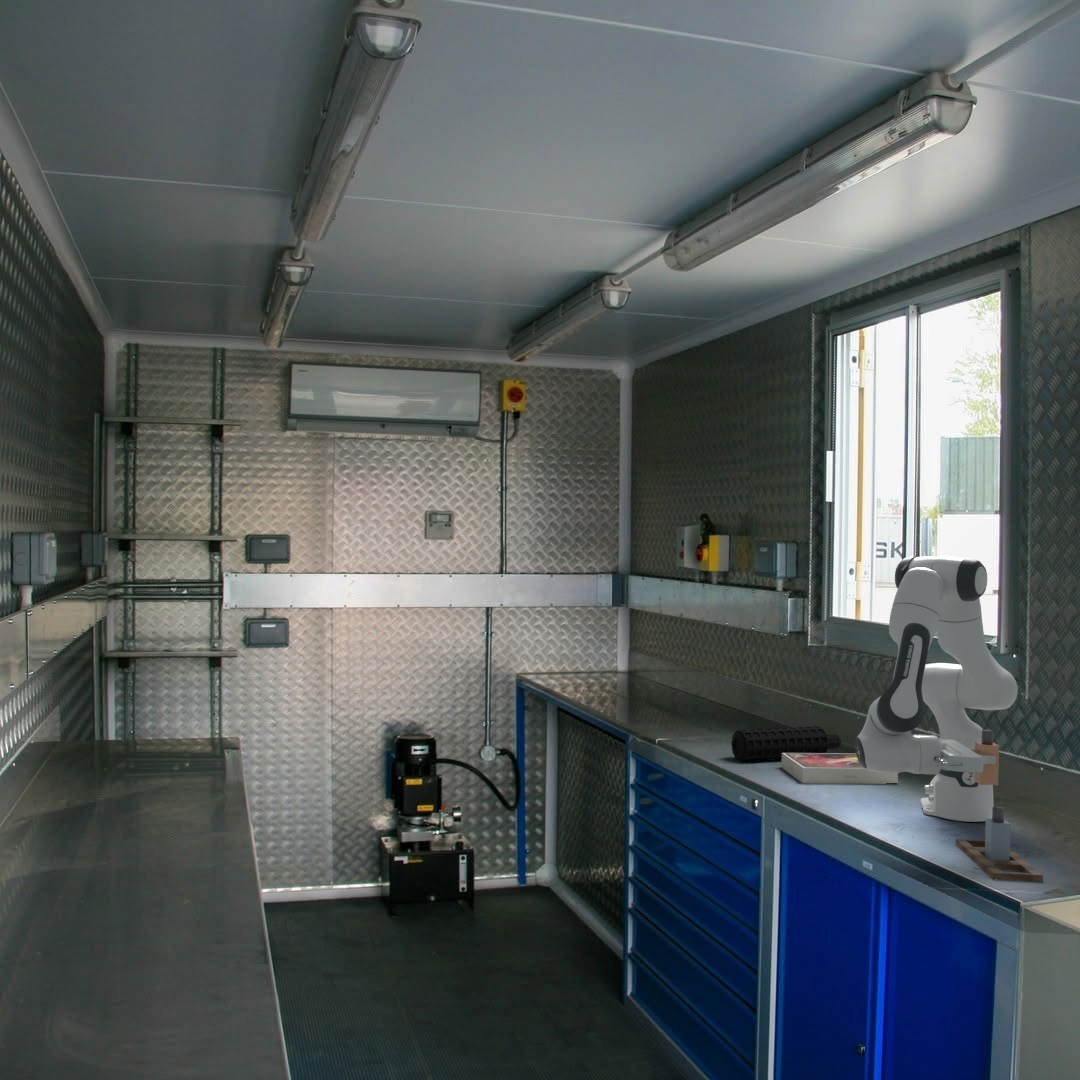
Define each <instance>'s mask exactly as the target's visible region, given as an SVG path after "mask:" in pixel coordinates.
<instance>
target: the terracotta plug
mask: <svg viewBox="0 0 1080 1080" xmlns="http://www.w3.org/2000/svg"><path fill="white" fill-rule="evenodd" d="M975 753H977V754H979V755H994V756H995V757H996V763H995V764H984V765H983V772H980V773H975V777H974V781H975V782H977V783H978V784H980V785H992V786H999V769H1000V767H999V765H1000V763H999V762H1000V745H999V744H997V743H995V742H994V731H993V730H991V729H983V730H982V742H975Z"/></svg>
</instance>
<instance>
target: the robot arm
mask: <svg viewBox="0 0 1080 1080" xmlns="http://www.w3.org/2000/svg"><path fill="white" fill-rule="evenodd" d="M894 583H895V586H896V589H897V590H896V593H895V595H894V598H893V603H892V605H891V606H892V607H891V609H890V615H889V624H888V634H889V636H890V638H892V640H893V641H894V642H895V643H896V645H897V657H896V662H895V664H894V665H895V666H894V671H893V675H892V680H891V682H890V685H889V686H888V687H887V688H886V690H885V691H884V692H883V693H882V694H881V695H880V696H878V697H877V698H876V699H874V700H873V702H872V703H871V704H870V705H869V707H868V711H867V715H866V719H865V722H864V725H863V728H862V729H861V730H860V733H859V734H858V735H857V736H856V738H855V741H854V744H855V747H854V748H855V754H856V755H857V758H858V761H859V762H860V764H861V765H862V766H863V767H864V768H865V769H867V770H871V771H876V772H885V773H898V774H899V773H905V772H907V773H911V774H914V775H915V774H916V775H919V774H920V775H934V776H933V778H932V780H931V781H930V783H929V784H925V785H924V793H925V795H928V797H922V798H920V804H921V808H923V809H922V812H923V814H925V815H927V816H935V817H939V818H943V819H947V820H951V821H957V822H968V823H969V822H971V823H972V822H974V823H977V822H986V819H992V807H994V785H980V784H978V783H977V782H975V781H974V777H975V773H980V772H983V765H984V764H995V763H996V757H995V756H994V755H979V754H977V753H975V742H982V730H984V729H983V728H982V727H981V726H980V725H979V724H978V723H976V722H974V721H972V719H970V718H969V716H968V715H967V713H966V709H973V710H982V711H997V710H998V711H1000V710H1008V709H1009V708H1010V707H1011V706H1012V705H1013V704H1014V703H1015V701H1016V700H1017V697H1018V691H1019V690H1018V689H1019V688H1018V683H1017V681H1016V679H1015V676H1014V675H1013V674H1012V673H1011V672H1010V671H1008V670H1007V669H1005V668H1004V667H1002V665H1000V664H999V662H998V661H997V660H996V659H995V657H994V656H993V654H992V653H991V651H990V650H989V648H988V644H987V643H986V639H985V638H986V637H985V632H984V626H983V625H984V624H983V615H982V606H981V599H980V597H982V596H983V595H984V593H985V592H986V589H987V586H988V573H987V569H986V566H984V564H983V563H982V562H981V561H980V560H978V559H975V558H970V557H965V558H964V557H957V556H949V555H939V556H938V555H937V556H935V555H934V556H933V555H932V556H928V555H927V556H918V555H915V556H914V555H913V556H908V557H904V558H903V559H902V560H901V561H900V562H898V564H897V566H896V568H895V571H894ZM935 634H936V635H937V637H936V638H937V643H938V645H939V647H940V648H941V650H942V651H944V652H945V653H946V654H948V655H950V656H951V657H953V658H954V659H955V660H956V661H957V662H958V664H957V663H948V662H933V663H926V662H927V659H928V653H929V649H930V647H931V645H932V642H933V640H934V637H935ZM925 704H926V705H927V707H928V708H929V709H930V710H931V712H932V713H933V716H934V717H935V720H936V722H937V725H938V729H939V731H938V732H939V737H938V736H937V735H930V734H921V733H919V734H913V733H912V730H915V729H916V728H917V727H919V726H920V725H921V723H922V722H923V720H924V717H925V713H926V710H925ZM965 708H966V709H965Z"/></svg>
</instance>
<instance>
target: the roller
mask: <svg viewBox="0 0 1080 1080" xmlns="http://www.w3.org/2000/svg"><path fill="white" fill-rule="evenodd" d="M841 745H842V738H841V736H840V735H839V734H836V733H827V732H826V731H825V729H824V728H823V727H821V726H804V727H803V726H802V727H801V726H800V727H799V726H798V727H797V726H796V727H780V728H779V727H775V728H773V727H772V728H755V729H754V728H753V729H737V730H736V731H734V733H732V737H731V745H730V746H731V752H732V754H733V756H734V758H735V760H736V761H738V762H740V763H744V762H745V763H747V762H762V761H763V762H764V761H765V762H767V761H780V760H781V761H782V753H828V751H829V750H834V749H838V748H839V747H840V746H841Z"/></svg>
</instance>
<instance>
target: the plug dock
mask: <svg viewBox="0 0 1080 1080" xmlns="http://www.w3.org/2000/svg"><path fill="white" fill-rule="evenodd" d="M955 845H956V847H958V848H959V849H960V850H961V851H962V852H963V854H965V855H966V856H968V857H969V859H970V860H972V861H973V862H974V863H975V864H976V865H977V866H978V867H979V868H980V869H982V870H983V871H984V872H985V873H986V874H987V875H988V876H989V877H990V878H991V879H992V880H995V879H997V880H995V881H1019V882H1037V883H1043V882H1044V874H1042V873H1041V872H1040V871H1038V870H1037V869H1036V867H1035V868H1034V867H1033V866H1032V865H1031V864H1030V863H1028V862H1027V860H1025V859H1023V858H1022V857H1021V856H1020V855H1018V854H1017V853H1016V852H1015V851H1014V850H1012V849H1011V848H1010V861H1009V860H988V859H987V858H985V839H963V838H962V839H961V838H955ZM1003 871H1004V872H1003ZM1007 871H1008V872H1007ZM1009 871H1010V872H1009Z"/></svg>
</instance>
